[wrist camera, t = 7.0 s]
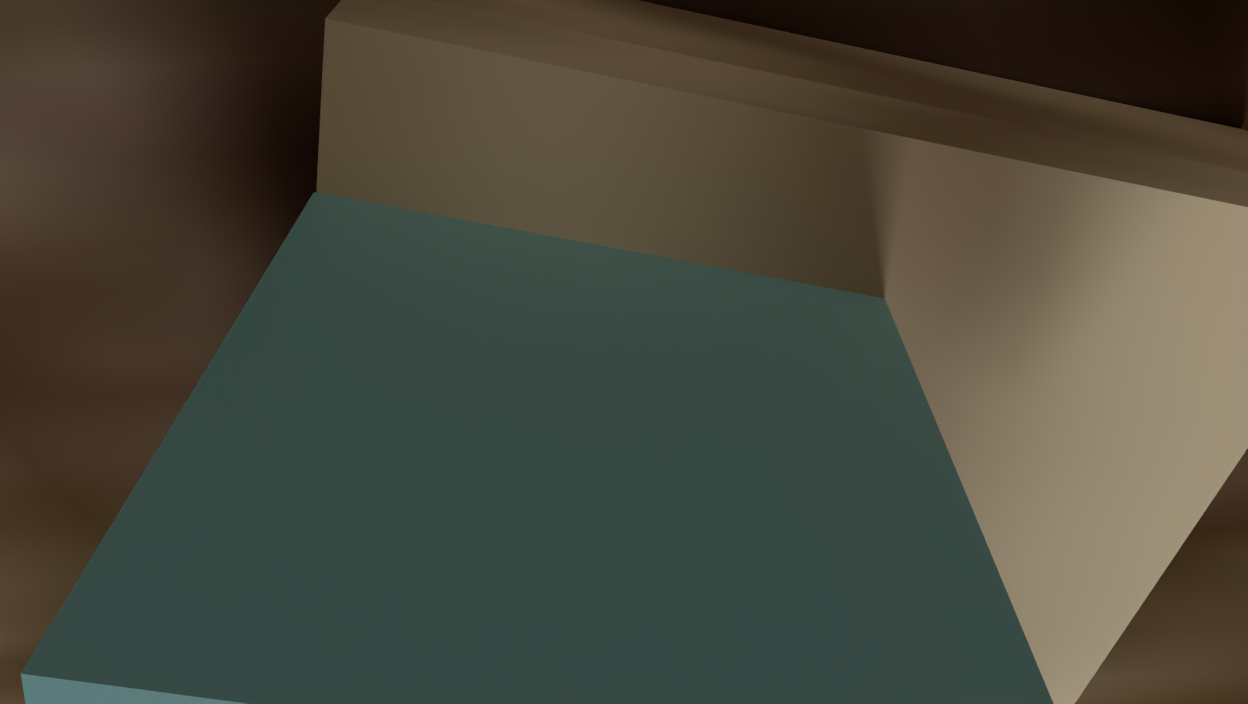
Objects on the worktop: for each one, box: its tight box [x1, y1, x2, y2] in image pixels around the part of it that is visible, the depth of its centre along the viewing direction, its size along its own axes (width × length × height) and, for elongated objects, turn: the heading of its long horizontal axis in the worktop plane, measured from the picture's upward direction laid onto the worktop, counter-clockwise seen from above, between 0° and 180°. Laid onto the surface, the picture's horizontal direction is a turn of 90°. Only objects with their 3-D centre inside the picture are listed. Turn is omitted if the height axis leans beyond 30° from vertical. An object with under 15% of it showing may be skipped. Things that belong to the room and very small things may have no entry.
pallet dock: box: [316, 0, 1248, 704], centre depth 14 cm, size 9×16×2 cm, turn 168°
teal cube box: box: [21, 192, 1053, 704], centre depth 8 cm, size 5×5×5 cm
